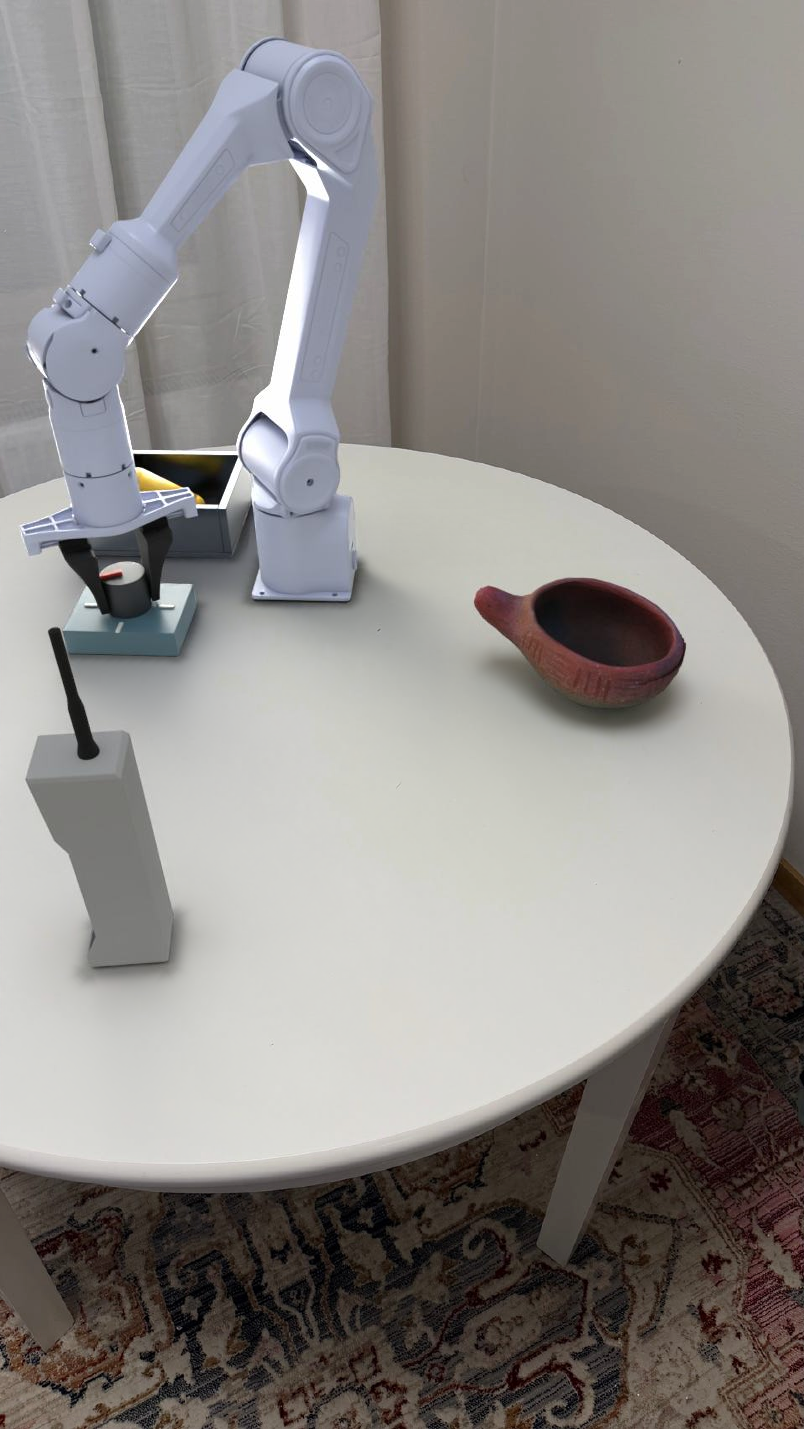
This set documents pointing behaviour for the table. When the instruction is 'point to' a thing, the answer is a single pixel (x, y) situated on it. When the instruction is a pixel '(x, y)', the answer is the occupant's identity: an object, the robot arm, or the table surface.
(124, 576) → the rotary knob
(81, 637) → the dial base
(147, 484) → the yellow disc and capsule
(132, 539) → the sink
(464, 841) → the table surface
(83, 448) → the robot arm
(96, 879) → the vintage mobile phone
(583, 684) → the bowl
